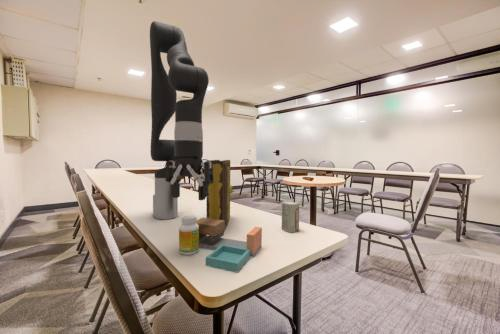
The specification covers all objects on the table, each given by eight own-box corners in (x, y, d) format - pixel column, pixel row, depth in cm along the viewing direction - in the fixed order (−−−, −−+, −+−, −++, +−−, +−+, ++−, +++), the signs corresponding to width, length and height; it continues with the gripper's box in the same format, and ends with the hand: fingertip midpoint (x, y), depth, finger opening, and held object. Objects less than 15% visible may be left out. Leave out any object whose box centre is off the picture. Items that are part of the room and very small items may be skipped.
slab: (191, 240, 67) (191, 222, 67) (203, 233, 73) (203, 217, 72) (214, 244, 64) (214, 226, 64) (224, 237, 70) (225, 220, 70)
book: (226, 234, 76) (227, 161, 75) (202, 233, 76) (202, 160, 75) (233, 216, 98) (233, 160, 97) (213, 216, 98) (214, 159, 97)
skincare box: (299, 231, 80) (300, 203, 80) (290, 233, 78) (290, 204, 78) (290, 227, 85) (290, 200, 84) (280, 228, 83) (281, 201, 82)
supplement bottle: (193, 256, 59) (194, 220, 59) (175, 254, 60) (175, 218, 60) (201, 247, 65) (201, 214, 64) (184, 246, 66) (184, 213, 65)
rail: (187, 244, 67) (187, 225, 67) (200, 236, 73) (200, 219, 73) (253, 256, 59) (253, 235, 59) (261, 246, 66) (261, 227, 66)
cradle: (205, 265, 55) (205, 257, 54) (222, 251, 63) (222, 244, 62) (237, 272, 52) (237, 263, 51) (250, 256, 60) (250, 249, 59)
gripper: (158, 139, 60) (158, 199, 61) (203, 138, 55) (203, 203, 56) (176, 141, 67) (176, 194, 68) (218, 140, 62) (218, 198, 63)
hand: (188, 198), depth 62 cm, fingers open, 8 cm apart
